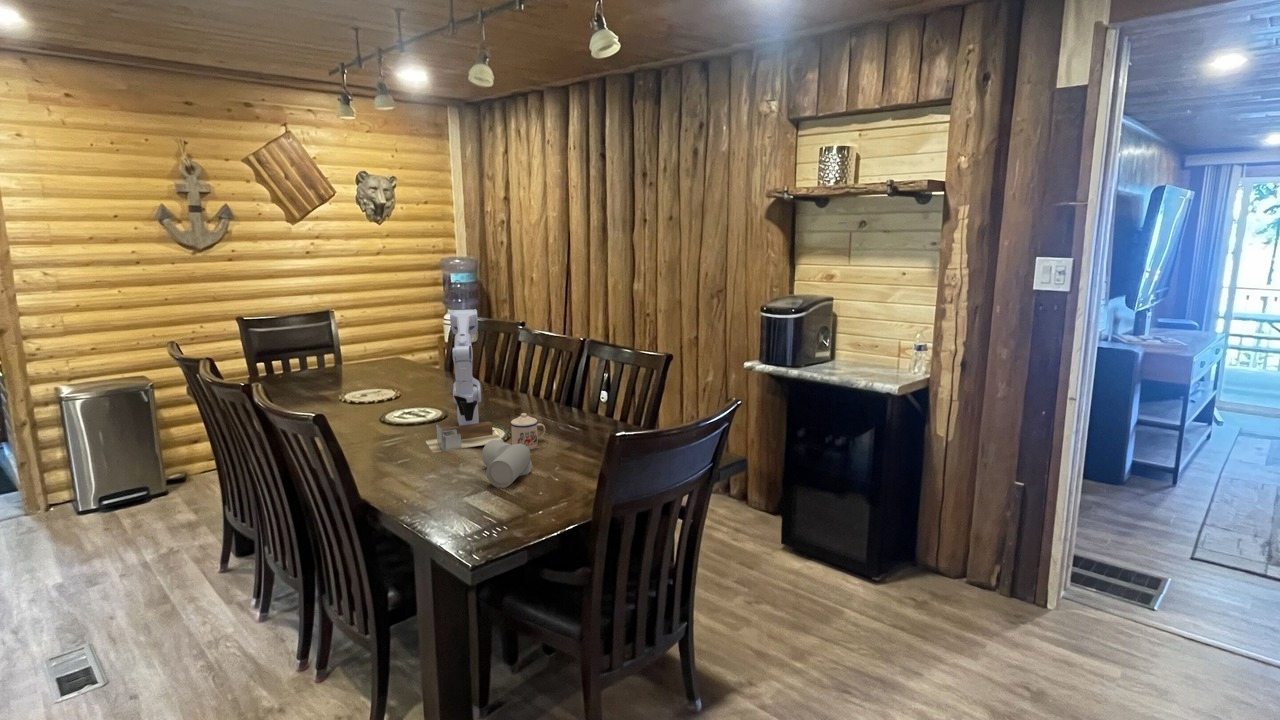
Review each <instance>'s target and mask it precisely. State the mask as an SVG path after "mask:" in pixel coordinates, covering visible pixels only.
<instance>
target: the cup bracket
mask: <svg viewBox="0 0 1280 720" xmlns="http://www.w3.org/2000/svg"><path fill="white" fill-rule="evenodd" d="M435 426H436V428H435V429H436V439H437V443H438V446H439V447H440V448H441V450H442V452H445V451H444V450H448V451H450V450H449V449H455V450H457V449H456V448H461V435H460V434H457V430H449V431H443V430H442V429H441V428H442V427H441V426H440V425H439V424H436V425H435ZM461 449H462V448H461Z"/></svg>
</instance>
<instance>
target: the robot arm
mask: <svg viewBox="0 0 1280 720" xmlns="http://www.w3.org/2000/svg"><path fill="white" fill-rule="evenodd" d="M478 317H479V316H478V310H477V309H476V308H474V309H457V310H456V309H451V310H450V311H449V322H450V328H451V332H452V334H453V335H454V344H453V345H454V347H452V360H453V368H454V373H455V374H454V375H455V381H454V382H453V384H452V385H453V388H452V396H453V397H452V399H453V403H454V404H456V405H457V407H456V414H457V417H456V419H457V423H458V426H461V425H468V424H475V423H480V421H479V420H480V419H479V403H481V402H482V391H481V390H482V389H481V388H482V387H481V382H480V381H479V380H478V379H477V378H475V377H474V376H473V360H474V358H473V357H474V356H473V355H474V353H473V352H474V351H473V347H472V339H473V336H474V335H475V334H477V333H478V325H479V320H478Z"/></svg>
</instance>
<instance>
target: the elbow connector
mask: <svg viewBox="0 0 1280 720" xmlns="http://www.w3.org/2000/svg"><path fill="white" fill-rule="evenodd" d="M481 459H482V462H483V464H484V465H486V466H487V468H486V471H485V474H486V478H487V481H488V482H489V483H490V484H491V485H492V486H494V487H495V488H503V489H505V488H507V487H509V486H510V485H512V484H513V482H514V481H515V480H516V479H517V478H518V477H520V476H526V475H528V474H529V473H530V472H531V471H532V468H533V463H532V460H531V450H529V448H528V447H527V446H526V445H524V444H514V445H512V444H511V443H507V442H505V441H504V442H501V441H498V440H491V441H489V442H488V443H487V444H486V445H484V447H483V448H482V451H481Z"/></svg>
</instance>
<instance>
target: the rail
mask: <svg viewBox="0 0 1280 720" xmlns="http://www.w3.org/2000/svg"><path fill="white" fill-rule="evenodd" d="M441 429H442V430H443V431H449V430H457V434H460V435H461V440H462V439H468V438H475V437H482V436H489V435H493V431H494V430H493V423H492V422H491V421H483V422H479V423H475V424H468V425H461V426H459V425H455V426H447V427H441Z"/></svg>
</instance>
